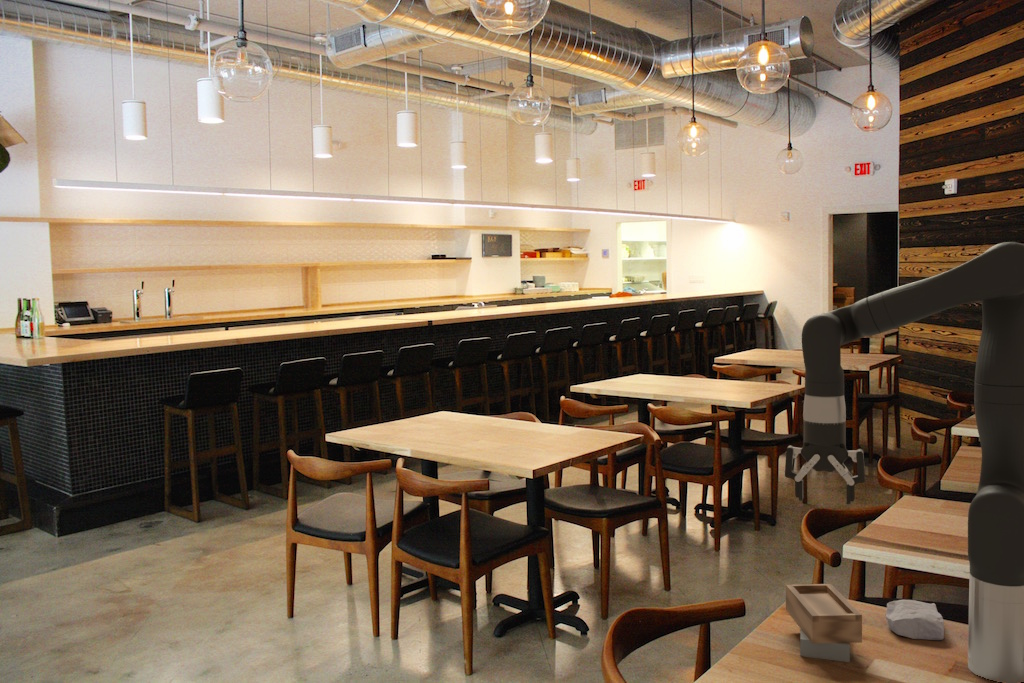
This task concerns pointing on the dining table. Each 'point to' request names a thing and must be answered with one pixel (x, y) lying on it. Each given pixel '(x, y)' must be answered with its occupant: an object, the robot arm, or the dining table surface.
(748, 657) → the dining table surface
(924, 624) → the stone block
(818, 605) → the tan open box
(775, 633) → the dining table surface
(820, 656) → the base slab
